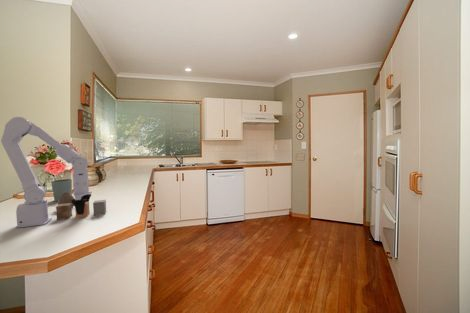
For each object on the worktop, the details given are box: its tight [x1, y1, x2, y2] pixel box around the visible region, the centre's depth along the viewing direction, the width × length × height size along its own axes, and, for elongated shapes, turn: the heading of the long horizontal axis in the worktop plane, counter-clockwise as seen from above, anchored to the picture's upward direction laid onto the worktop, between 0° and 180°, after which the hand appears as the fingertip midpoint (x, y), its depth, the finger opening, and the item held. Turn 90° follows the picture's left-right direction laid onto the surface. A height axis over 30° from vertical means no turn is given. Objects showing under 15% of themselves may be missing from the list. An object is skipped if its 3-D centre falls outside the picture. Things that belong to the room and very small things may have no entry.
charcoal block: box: [92, 199, 107, 216], centre depth 108 cm, size 4×4×6 cm
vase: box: [57, 192, 75, 209], centre depth 117 cm, size 7×7×9 cm
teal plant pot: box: [50, 178, 73, 202], centre depth 139 cm, size 10×10×12 cm
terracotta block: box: [74, 200, 91, 218], centre depth 106 cm, size 4×4×6 cm
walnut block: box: [55, 203, 73, 221], centre depth 103 cm, size 4×4×6 cm
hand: (82, 212), depth 106 cm, fingers open, 7 cm apart
